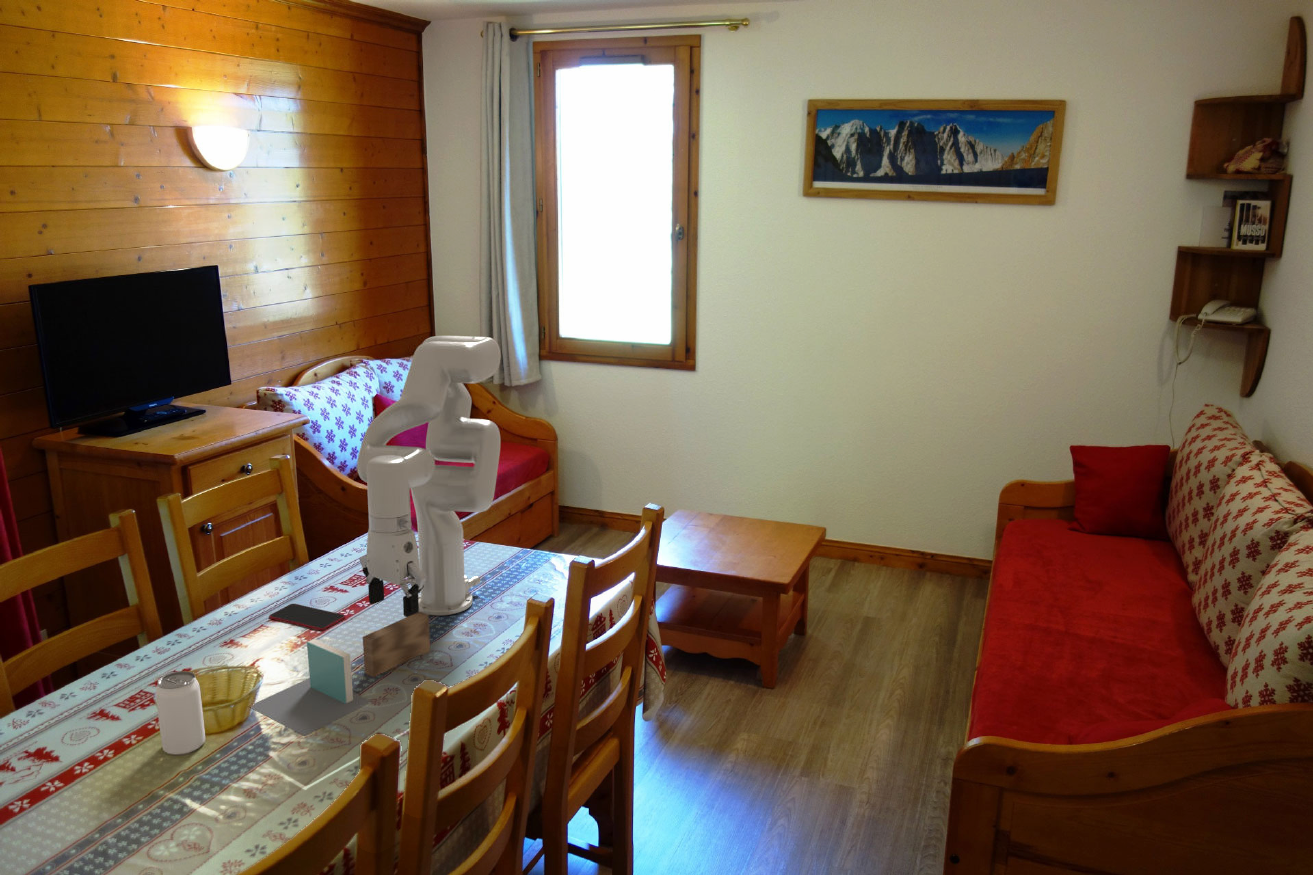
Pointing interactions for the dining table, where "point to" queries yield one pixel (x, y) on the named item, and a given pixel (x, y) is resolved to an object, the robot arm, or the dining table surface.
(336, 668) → the tile
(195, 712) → the can
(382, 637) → the wooden plank piece
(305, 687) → the mat
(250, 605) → the dining table surface
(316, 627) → the smartphone
